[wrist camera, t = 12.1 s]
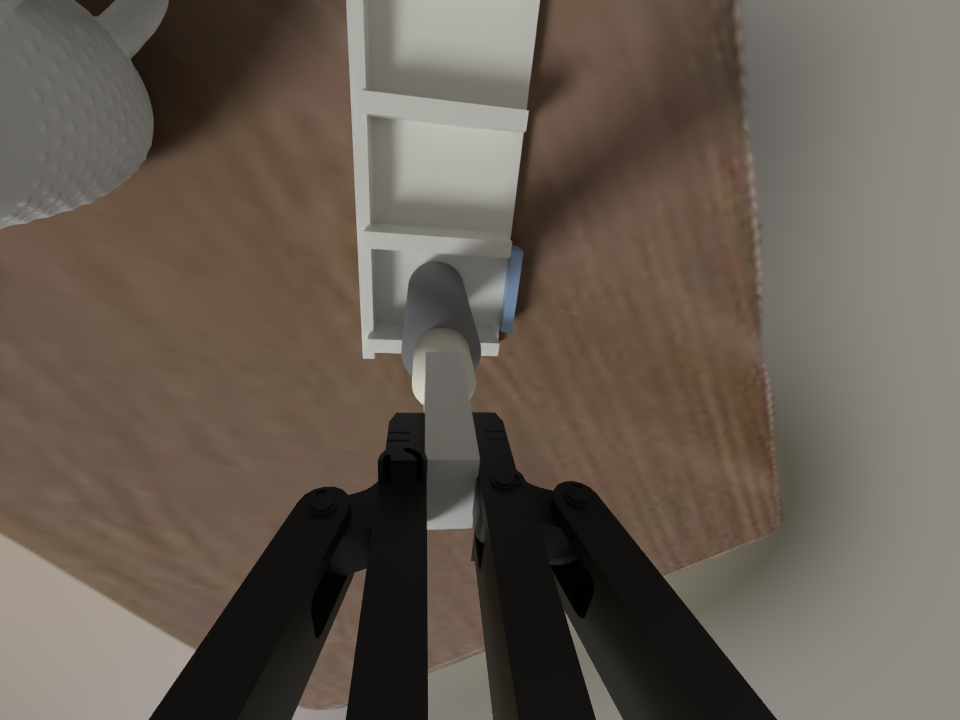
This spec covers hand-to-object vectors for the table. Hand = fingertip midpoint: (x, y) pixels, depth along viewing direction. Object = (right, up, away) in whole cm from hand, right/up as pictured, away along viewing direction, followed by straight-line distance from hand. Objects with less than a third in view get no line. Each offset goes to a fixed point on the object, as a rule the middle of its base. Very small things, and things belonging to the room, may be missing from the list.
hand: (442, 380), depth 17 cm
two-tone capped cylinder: (-2, +6, +12) cm, 13 cm away
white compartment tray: (-1, +13, +9) cm, 16 cm away
